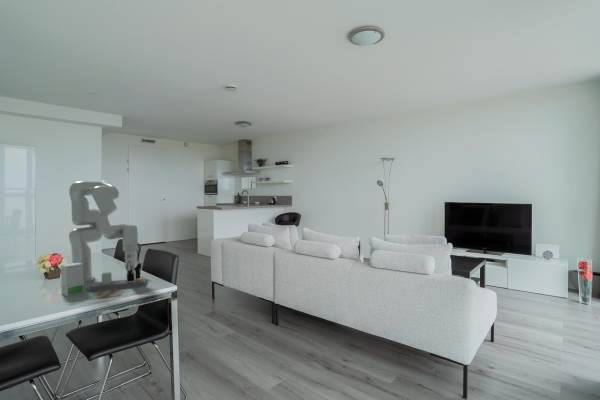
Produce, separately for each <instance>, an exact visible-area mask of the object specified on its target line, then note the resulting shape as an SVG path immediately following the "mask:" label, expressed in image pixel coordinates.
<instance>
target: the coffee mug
mask: <svg viewBox="0 0 600 400" xmlns="http://www.w3.org/2000/svg"><path fill="white" fill-rule="evenodd" d="M142 263H143V262H142V261H139V260H137V266H136V268H135V272H136V279H139V278H141V273H142ZM125 270H126V271H127V269H126V268H125Z"/></svg>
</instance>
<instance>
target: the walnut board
mask: <svg viewBox="0 0 600 400" xmlns="http://www.w3.org/2000/svg"><path fill="white" fill-rule="evenodd" d="M124 290H125V288H121V289H111V290H100V292H99V293H98V294H97V295H96V296H95V299H102V298H112V297H120V296H121V295H122V293H123V292H124Z"/></svg>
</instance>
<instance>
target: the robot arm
mask: <svg viewBox="0 0 600 400" xmlns="http://www.w3.org/2000/svg"><path fill="white" fill-rule="evenodd" d="M68 191H69V194H68V195H69V197H70V202H71V221H72V224H73V225H74V226H78V228H74V229H72V230H70V232H69V234H68V239H69V242H70V248H71V264H72V263H82V264H83V276H84V283H85V282H89V281H93V280H95V279H96V276H95V275H93V273H92V270H93V269H92V249H91V247H90V246H89V245H88V243H89V244H90V243H95V242H98V241H100V240H101V239H102V237H103V238H105V239H106V240H117V239H122V240H121V241H122V252H124V267H125V270H126V269H127V270H126V280H127V281H134V273H133V270H135V268H136V266H137V261H138V253H137V251H138V250H139V243H138V242H139V241H138V226H137V225H132V224H130V225H129V224H115V225H111V224H110V221H109V218H108V217H109V216H110V215H112V214H113V213H114V212H115V211H116V210H117V209H118V208H117V207H118V206H117V205H116V203H115V201H114V200H116V199H118V198H119V196H120V194H119V193H120V192H119V189H118V188H117V187H116V186H115V185H111V184H109V183H106V182H102V181H93V180H92V181H88V180H82V181H74V182H73V183H72V184H71V185H70V187H69V190H68ZM86 196H91V197H92V198H93V201H94V202H95V204H96V206H97V208H98V209H96V208H90V204H89V203H90V202H89V201H88V199H87V197H86ZM79 226H85V227H79ZM86 226H87V227H86Z"/></svg>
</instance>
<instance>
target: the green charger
mask: <svg viewBox="0 0 600 400" xmlns="http://www.w3.org/2000/svg"><path fill="white" fill-rule="evenodd" d="M112 279H113V278H112V272H102V273H101V282H102V285H105V284H112V281H113V280H112Z"/></svg>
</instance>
